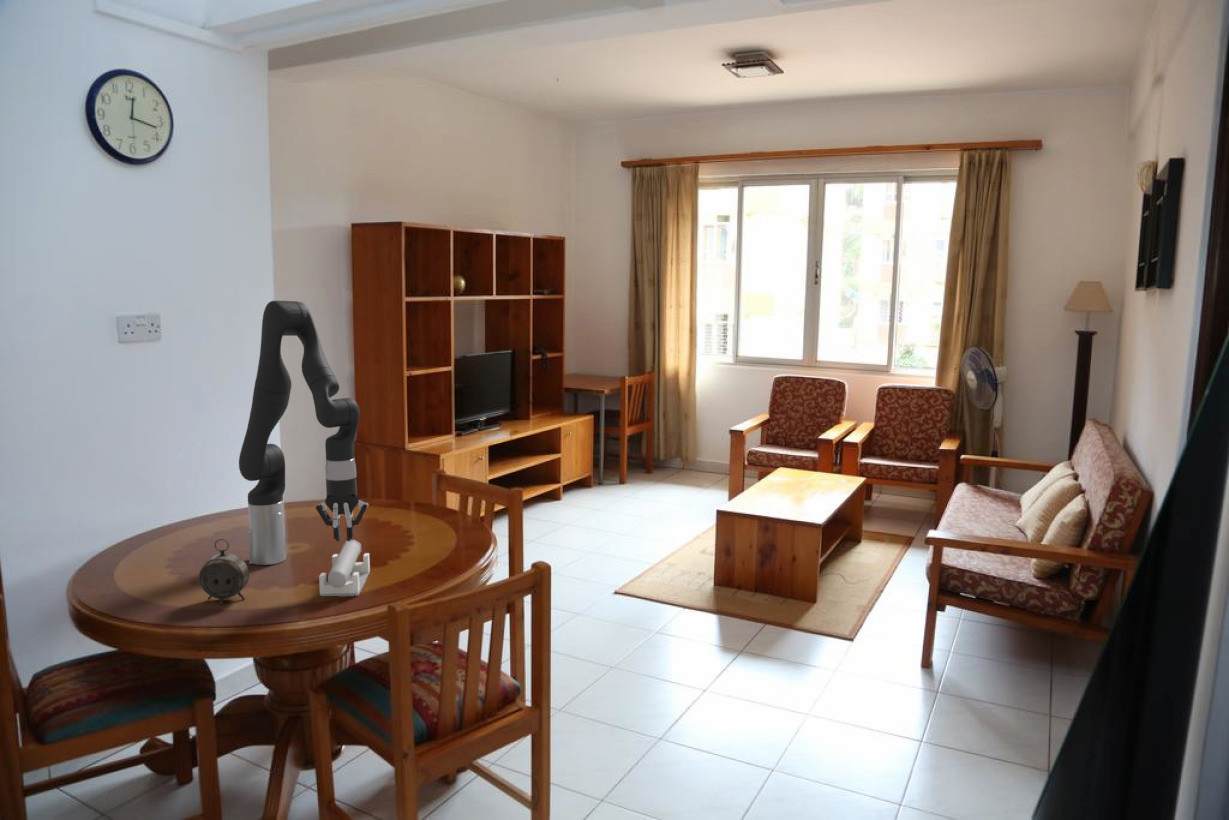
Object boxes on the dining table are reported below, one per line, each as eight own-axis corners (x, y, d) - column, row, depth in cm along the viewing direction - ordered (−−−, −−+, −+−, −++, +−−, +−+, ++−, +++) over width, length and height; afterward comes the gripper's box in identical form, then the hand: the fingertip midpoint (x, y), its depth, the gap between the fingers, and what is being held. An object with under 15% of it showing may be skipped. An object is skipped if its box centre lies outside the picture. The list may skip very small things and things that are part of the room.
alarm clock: (251, 597, 219) (247, 535, 217) (243, 605, 214) (239, 541, 211) (207, 597, 219) (203, 535, 216) (198, 605, 214) (193, 542, 211)
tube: (349, 574, 216) (364, 542, 240) (328, 568, 215) (345, 537, 239) (343, 593, 217) (358, 560, 241) (322, 588, 216) (339, 555, 240)
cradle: (320, 597, 220) (319, 576, 219) (334, 573, 237) (333, 554, 236) (358, 595, 220) (357, 575, 220) (370, 572, 238) (369, 553, 237)
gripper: (309, 479, 220) (313, 545, 222) (365, 478, 221) (368, 544, 224) (316, 472, 227) (320, 536, 230) (371, 471, 228) (373, 535, 231)
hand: (344, 540), depth 227 cm, fingers closed
